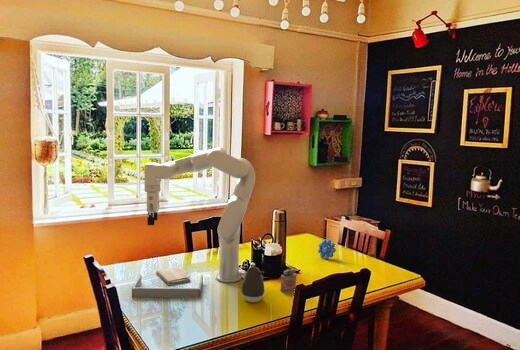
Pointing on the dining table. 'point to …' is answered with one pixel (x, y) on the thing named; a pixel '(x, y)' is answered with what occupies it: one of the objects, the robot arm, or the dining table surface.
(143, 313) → the dining table surface
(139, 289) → the box
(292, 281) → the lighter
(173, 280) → the washcloth
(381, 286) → the dining table surface
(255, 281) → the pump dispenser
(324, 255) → the blue knobbly wheel
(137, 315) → the dining table surface
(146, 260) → the dining table surface
